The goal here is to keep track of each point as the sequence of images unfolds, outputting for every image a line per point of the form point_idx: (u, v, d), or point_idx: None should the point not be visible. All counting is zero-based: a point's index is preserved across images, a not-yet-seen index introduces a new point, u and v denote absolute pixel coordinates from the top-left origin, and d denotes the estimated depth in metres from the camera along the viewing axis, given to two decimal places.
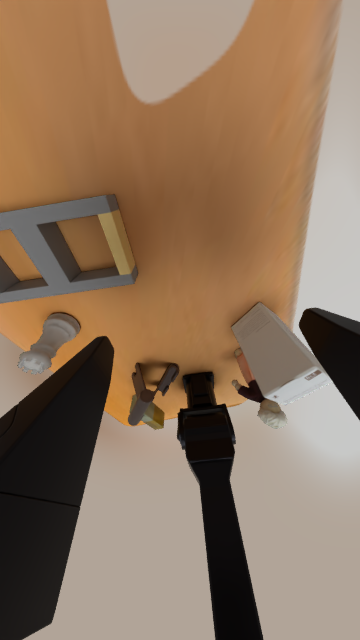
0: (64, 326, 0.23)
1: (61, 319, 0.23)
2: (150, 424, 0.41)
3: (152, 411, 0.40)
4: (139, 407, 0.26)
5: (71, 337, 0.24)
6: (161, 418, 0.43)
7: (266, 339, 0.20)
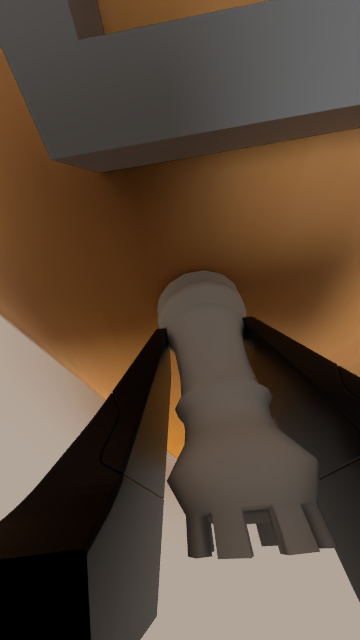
0: (238, 309, 0.07)
1: (227, 287, 0.07)
2: None
3: None
4: None
5: None
6: None
7: None
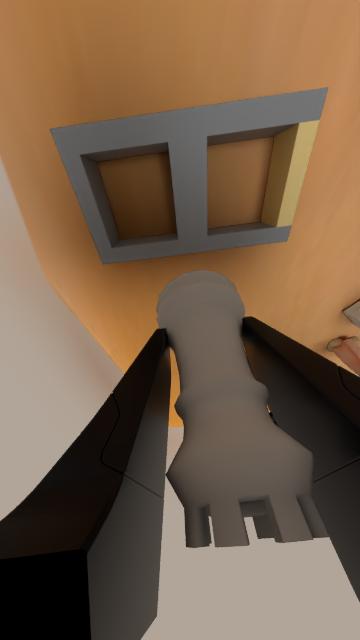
0: (236, 309, 0.07)
1: (226, 286, 0.07)
2: None
3: None
4: None
5: None
6: None
7: None
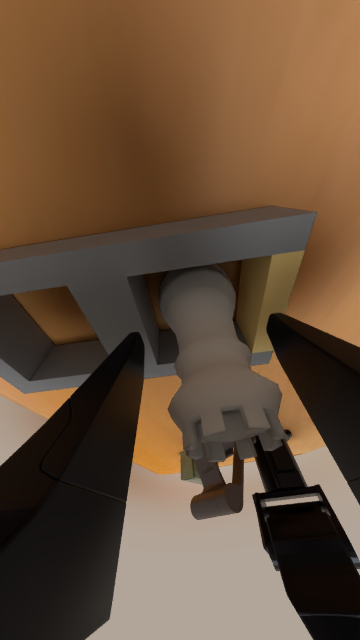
0: (228, 292, 0.08)
1: (219, 273, 0.08)
2: None
3: None
4: (222, 512, 0.17)
5: None
6: None
7: None
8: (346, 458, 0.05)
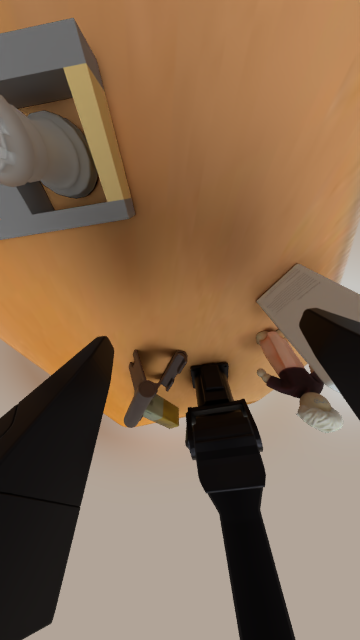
0: (68, 133, 0.10)
1: (61, 118, 0.10)
2: (161, 423, 0.34)
3: (160, 407, 0.33)
4: (138, 404, 0.20)
5: (81, 177, 0.12)
6: (175, 414, 0.36)
7: (317, 305, 0.14)
8: None
